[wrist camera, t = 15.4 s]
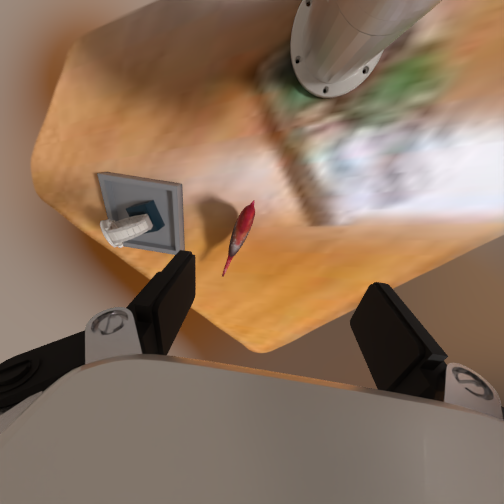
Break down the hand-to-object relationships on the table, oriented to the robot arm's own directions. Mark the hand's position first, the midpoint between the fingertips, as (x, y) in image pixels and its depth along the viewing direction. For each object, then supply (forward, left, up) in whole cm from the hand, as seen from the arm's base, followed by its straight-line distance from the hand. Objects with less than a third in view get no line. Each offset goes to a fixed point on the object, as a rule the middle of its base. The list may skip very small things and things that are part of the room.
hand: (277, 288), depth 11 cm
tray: (+10, -25, -30) cm, 40 cm away
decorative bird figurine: (+10, -5, -31) cm, 33 cm away
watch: (+10, -24, -30) cm, 40 cm away
